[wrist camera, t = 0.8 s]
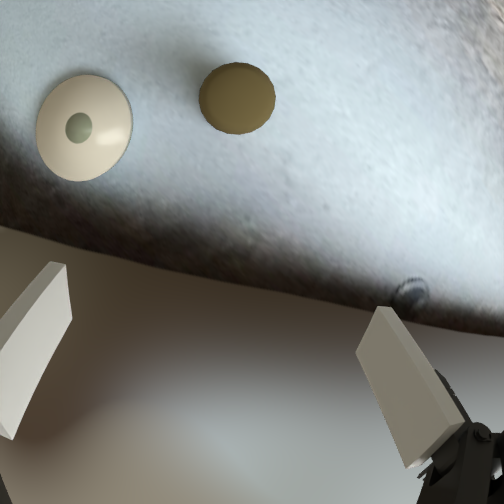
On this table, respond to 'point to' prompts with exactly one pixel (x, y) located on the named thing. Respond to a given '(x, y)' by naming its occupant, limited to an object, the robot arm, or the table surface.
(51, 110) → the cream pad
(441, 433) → the robot arm
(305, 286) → the table surface
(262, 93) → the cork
